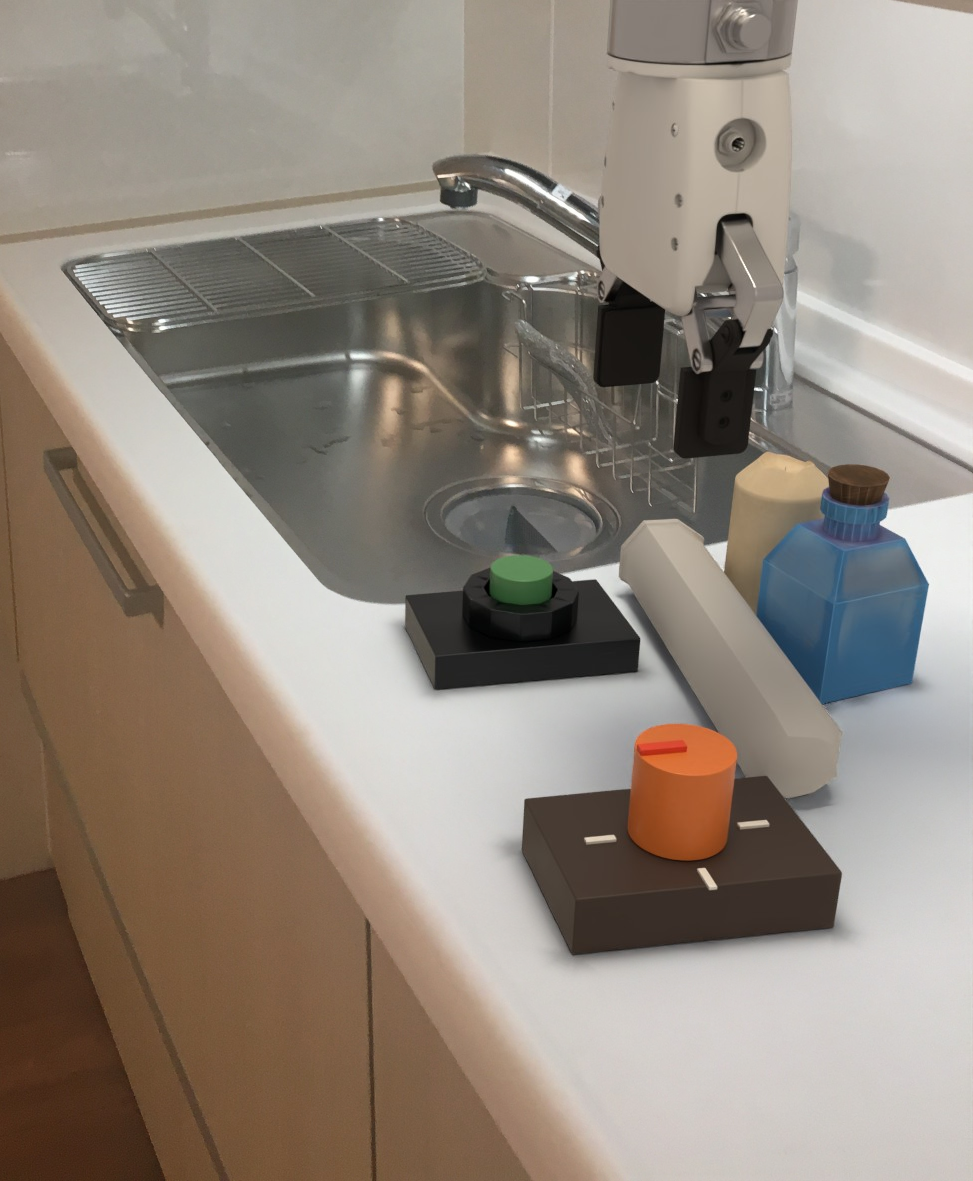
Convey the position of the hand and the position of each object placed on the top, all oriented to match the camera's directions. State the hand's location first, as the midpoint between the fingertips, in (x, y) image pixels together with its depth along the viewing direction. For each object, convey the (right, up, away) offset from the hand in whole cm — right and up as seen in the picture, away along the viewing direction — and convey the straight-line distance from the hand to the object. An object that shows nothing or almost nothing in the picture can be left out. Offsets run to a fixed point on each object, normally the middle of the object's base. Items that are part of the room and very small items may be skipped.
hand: (665, 416), depth 75 cm
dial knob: (0, -19, -1) cm, 19 cm away
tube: (+8, -14, +16) cm, 23 cm away
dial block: (0, -22, 0) cm, 22 cm away
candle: (+13, -9, +25) cm, 30 cm away
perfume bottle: (+14, -13, +18) cm, 26 cm away
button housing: (-3, -12, +22) cm, 25 cm away
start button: (-3, -8, +20) cm, 22 cm away
